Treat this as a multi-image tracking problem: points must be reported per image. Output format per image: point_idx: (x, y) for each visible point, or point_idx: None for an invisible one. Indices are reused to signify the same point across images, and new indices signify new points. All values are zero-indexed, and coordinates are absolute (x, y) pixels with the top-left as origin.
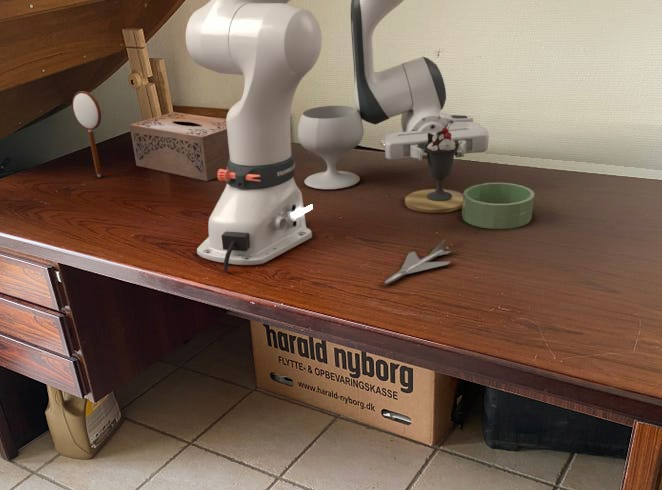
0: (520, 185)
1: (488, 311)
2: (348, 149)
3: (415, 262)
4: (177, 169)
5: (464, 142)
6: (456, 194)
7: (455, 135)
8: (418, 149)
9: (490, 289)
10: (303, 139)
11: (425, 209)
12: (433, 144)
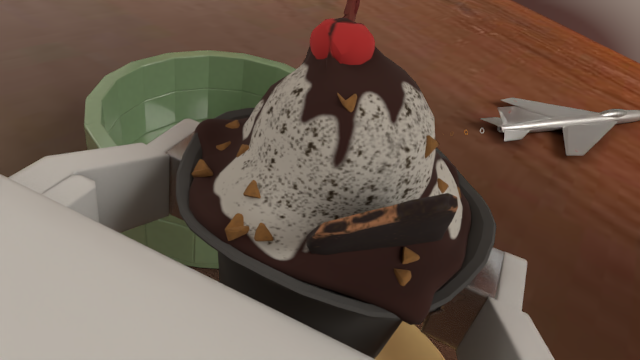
0: (89, 103)
1: (500, 34)
2: None
3: (580, 118)
4: None
5: (76, 157)
6: None
7: (15, 221)
8: (521, 307)
9: (469, 49)
10: None
11: (424, 337)
12: (438, 156)
